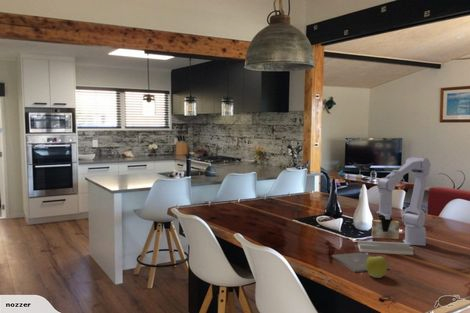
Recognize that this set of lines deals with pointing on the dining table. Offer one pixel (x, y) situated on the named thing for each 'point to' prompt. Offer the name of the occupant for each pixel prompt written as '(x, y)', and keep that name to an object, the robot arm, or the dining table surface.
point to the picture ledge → (385, 247)
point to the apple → (376, 266)
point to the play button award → (353, 261)
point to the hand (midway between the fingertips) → (384, 230)
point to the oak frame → (378, 232)
